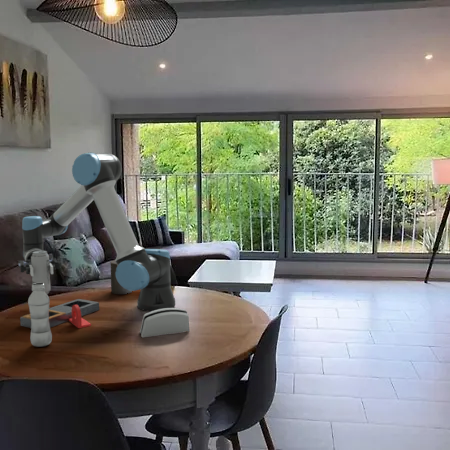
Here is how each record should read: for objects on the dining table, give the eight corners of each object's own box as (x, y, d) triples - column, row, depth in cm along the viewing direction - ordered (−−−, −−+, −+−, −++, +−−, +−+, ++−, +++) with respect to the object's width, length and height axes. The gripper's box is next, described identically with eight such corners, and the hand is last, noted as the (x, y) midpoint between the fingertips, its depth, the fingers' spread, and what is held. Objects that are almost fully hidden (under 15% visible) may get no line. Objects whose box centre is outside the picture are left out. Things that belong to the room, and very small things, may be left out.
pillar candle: (107, 294, 228) (106, 260, 226) (115, 288, 237) (115, 256, 235) (128, 295, 226) (128, 261, 224) (136, 289, 236) (135, 256, 233)
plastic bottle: (40, 350, 161) (36, 287, 158) (26, 346, 165) (22, 284, 162) (56, 344, 166) (53, 283, 164) (42, 340, 170) (39, 280, 167)
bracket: (91, 327, 185) (90, 305, 184) (78, 329, 182) (77, 307, 181) (79, 318, 194) (78, 298, 193) (67, 320, 192) (66, 300, 191)
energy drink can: (33, 291, 188) (31, 250, 186) (50, 290, 190) (48, 249, 188) (32, 295, 183) (30, 254, 181) (50, 294, 185) (48, 252, 183)
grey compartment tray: (99, 309, 204) (99, 301, 203) (41, 330, 180) (41, 321, 179) (79, 306, 209) (78, 298, 209) (20, 325, 185) (20, 316, 185)
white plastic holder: (186, 326, 183) (188, 303, 178) (189, 335, 179) (192, 311, 174) (138, 332, 177) (139, 308, 172) (141, 341, 173) (142, 317, 168)
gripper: (61, 266, 206) (70, 279, 185) (10, 271, 198) (13, 284, 177) (60, 248, 205) (69, 258, 184) (9, 251, 197) (12, 263, 176)
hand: (42, 271), depth 181 cm, fingers closed on energy drink can, 6 cm apart
